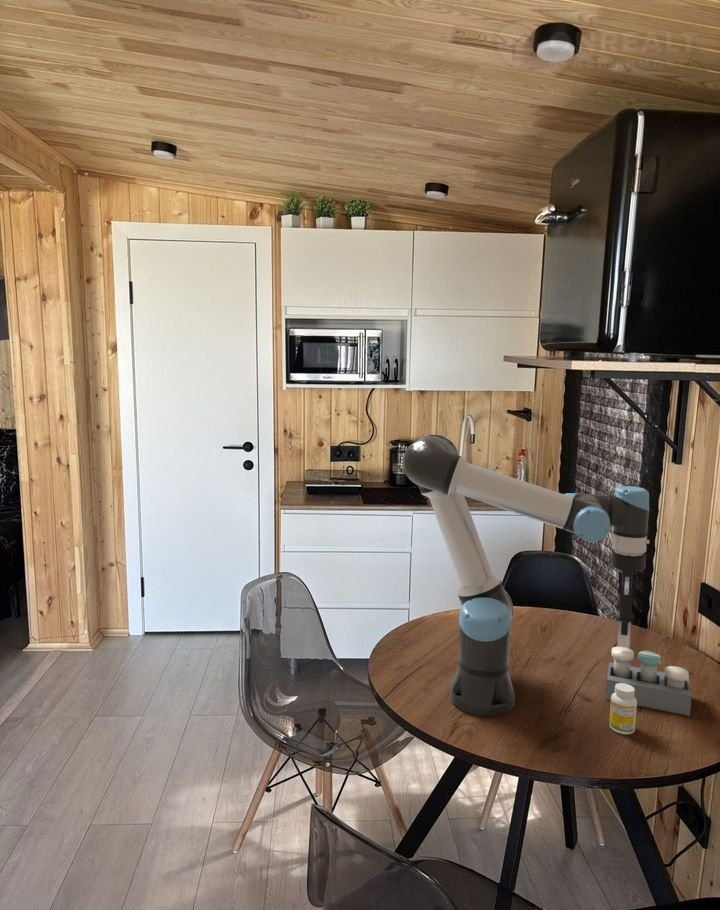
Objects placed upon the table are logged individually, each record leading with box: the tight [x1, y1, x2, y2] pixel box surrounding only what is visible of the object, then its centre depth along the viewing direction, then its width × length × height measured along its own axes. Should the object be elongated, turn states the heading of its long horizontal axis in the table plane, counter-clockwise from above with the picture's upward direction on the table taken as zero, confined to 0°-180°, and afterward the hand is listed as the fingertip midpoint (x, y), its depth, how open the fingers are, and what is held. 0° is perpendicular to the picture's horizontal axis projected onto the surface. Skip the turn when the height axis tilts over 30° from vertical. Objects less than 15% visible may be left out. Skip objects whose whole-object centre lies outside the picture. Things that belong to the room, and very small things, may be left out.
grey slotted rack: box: [605, 662, 692, 717], centre depth 153 cm, size 10×18×5 cm, turn 66°
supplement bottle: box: [609, 683, 638, 736], centre depth 139 cm, size 5×5×10 cm
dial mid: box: [637, 650, 662, 684], centre depth 152 cm, size 5×5×7 cm
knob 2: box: [664, 665, 690, 689], centre depth 150 cm, size 5×5×6 cm
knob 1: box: [610, 646, 635, 679], centre depth 155 cm, size 5×5×6 cm
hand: (623, 645), depth 154 cm, fingers closed
